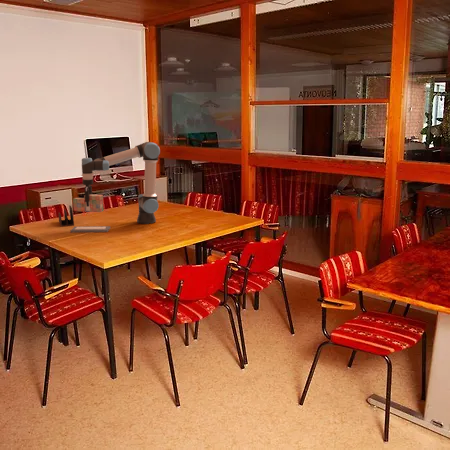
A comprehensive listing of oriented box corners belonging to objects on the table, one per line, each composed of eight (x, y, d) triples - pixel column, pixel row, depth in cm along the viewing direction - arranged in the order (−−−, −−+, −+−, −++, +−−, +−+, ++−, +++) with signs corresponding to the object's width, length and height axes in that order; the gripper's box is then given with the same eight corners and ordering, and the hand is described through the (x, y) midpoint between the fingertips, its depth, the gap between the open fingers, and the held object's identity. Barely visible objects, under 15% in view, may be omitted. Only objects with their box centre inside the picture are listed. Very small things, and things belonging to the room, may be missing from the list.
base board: (110, 228, 379) (110, 225, 378) (107, 232, 366) (107, 229, 366) (74, 228, 377) (74, 226, 377) (70, 232, 365) (70, 230, 364)
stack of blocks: (73, 211, 367) (72, 194, 365) (77, 209, 373) (76, 193, 371) (100, 212, 364) (99, 195, 361) (103, 210, 370) (103, 194, 367)
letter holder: (71, 220, 405) (70, 204, 402) (74, 225, 388) (73, 208, 384) (58, 221, 402) (57, 204, 398) (61, 226, 384) (59, 209, 381)
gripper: (85, 177, 373) (87, 207, 378) (79, 180, 353) (81, 212, 358) (95, 177, 373) (97, 207, 378) (90, 180, 354) (91, 212, 359)
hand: (89, 209), depth 368 cm, fingers closed on stack of blocks, 7 cm apart
